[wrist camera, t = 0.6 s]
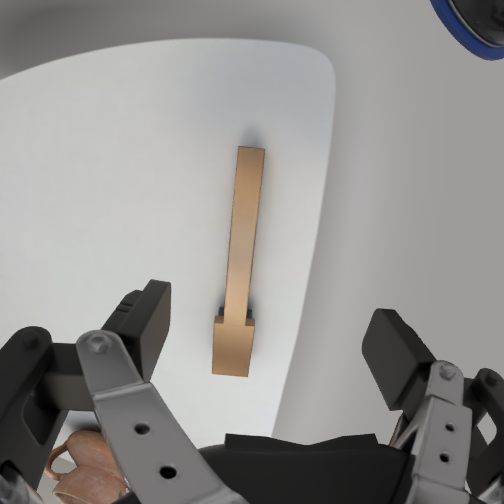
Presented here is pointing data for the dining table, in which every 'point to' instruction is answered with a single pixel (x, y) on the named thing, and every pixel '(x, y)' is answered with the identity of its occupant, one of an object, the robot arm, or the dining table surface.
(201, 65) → the dining table surface
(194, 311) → the dining table surface
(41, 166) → the dining table surface
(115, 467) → the ceramic jug
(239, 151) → the brush
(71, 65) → the dining table surface
